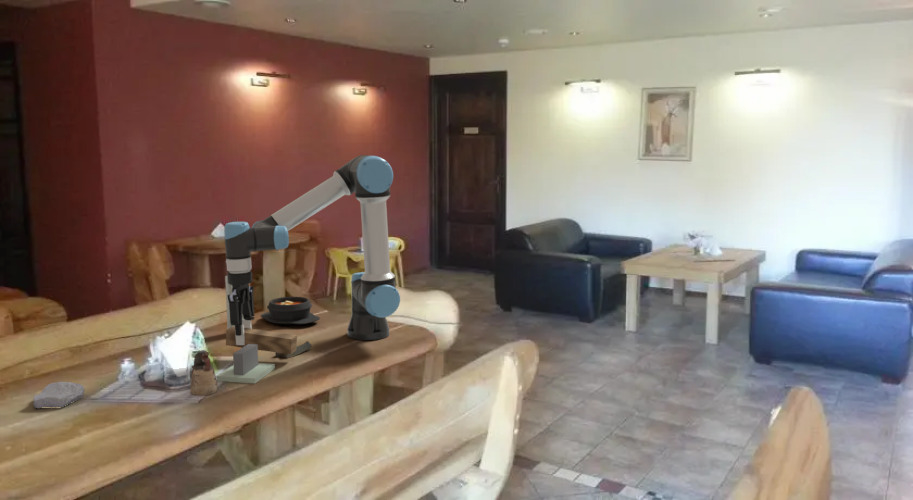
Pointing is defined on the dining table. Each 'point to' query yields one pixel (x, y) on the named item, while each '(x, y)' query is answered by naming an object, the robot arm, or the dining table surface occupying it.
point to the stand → (246, 366)
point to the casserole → (290, 311)
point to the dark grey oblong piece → (299, 349)
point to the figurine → (203, 375)
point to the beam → (264, 340)
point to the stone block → (58, 394)
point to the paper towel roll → (228, 292)
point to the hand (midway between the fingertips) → (244, 342)
